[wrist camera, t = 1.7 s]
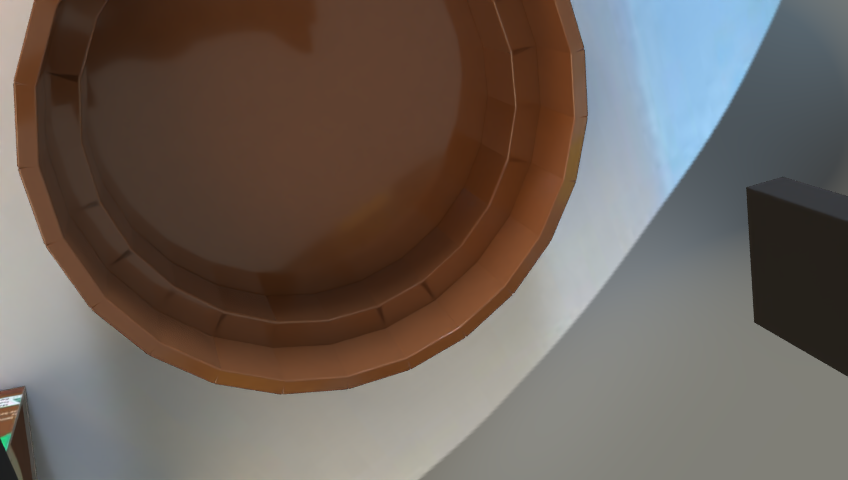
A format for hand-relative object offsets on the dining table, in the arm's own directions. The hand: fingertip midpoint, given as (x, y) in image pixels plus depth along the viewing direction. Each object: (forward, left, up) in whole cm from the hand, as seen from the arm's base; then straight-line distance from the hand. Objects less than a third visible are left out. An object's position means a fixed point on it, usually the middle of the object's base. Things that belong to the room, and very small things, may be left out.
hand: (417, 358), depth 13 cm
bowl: (+2, +2, -20) cm, 20 cm away
